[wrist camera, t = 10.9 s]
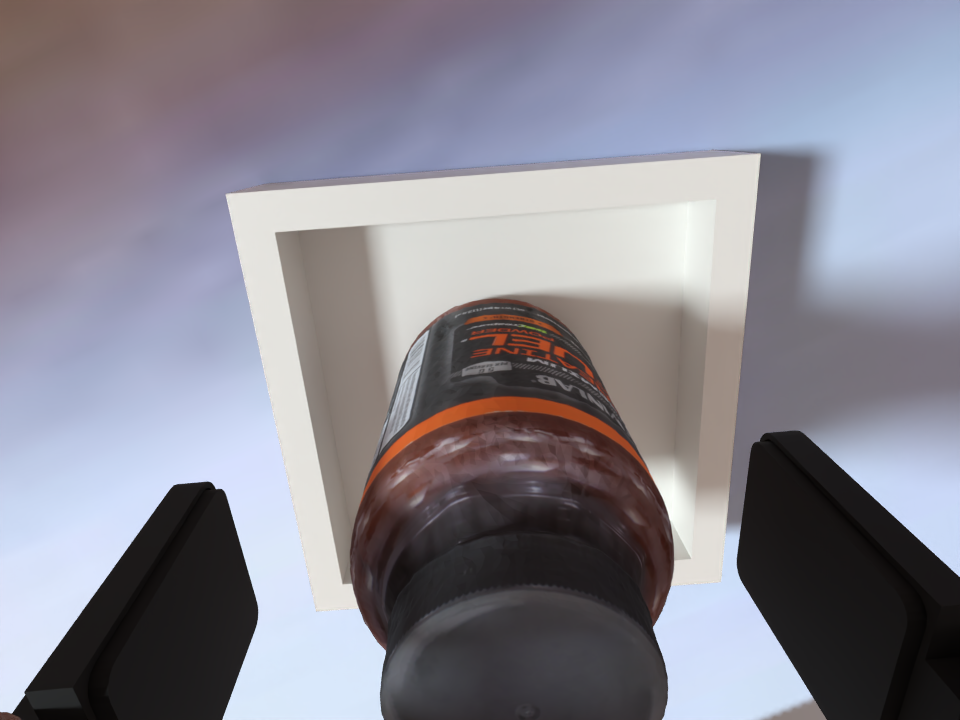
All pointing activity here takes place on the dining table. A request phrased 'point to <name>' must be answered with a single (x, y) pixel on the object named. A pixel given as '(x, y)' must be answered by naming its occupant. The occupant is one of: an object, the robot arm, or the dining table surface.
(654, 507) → the supplement bottle
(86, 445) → the dining table surface
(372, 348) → the tray
